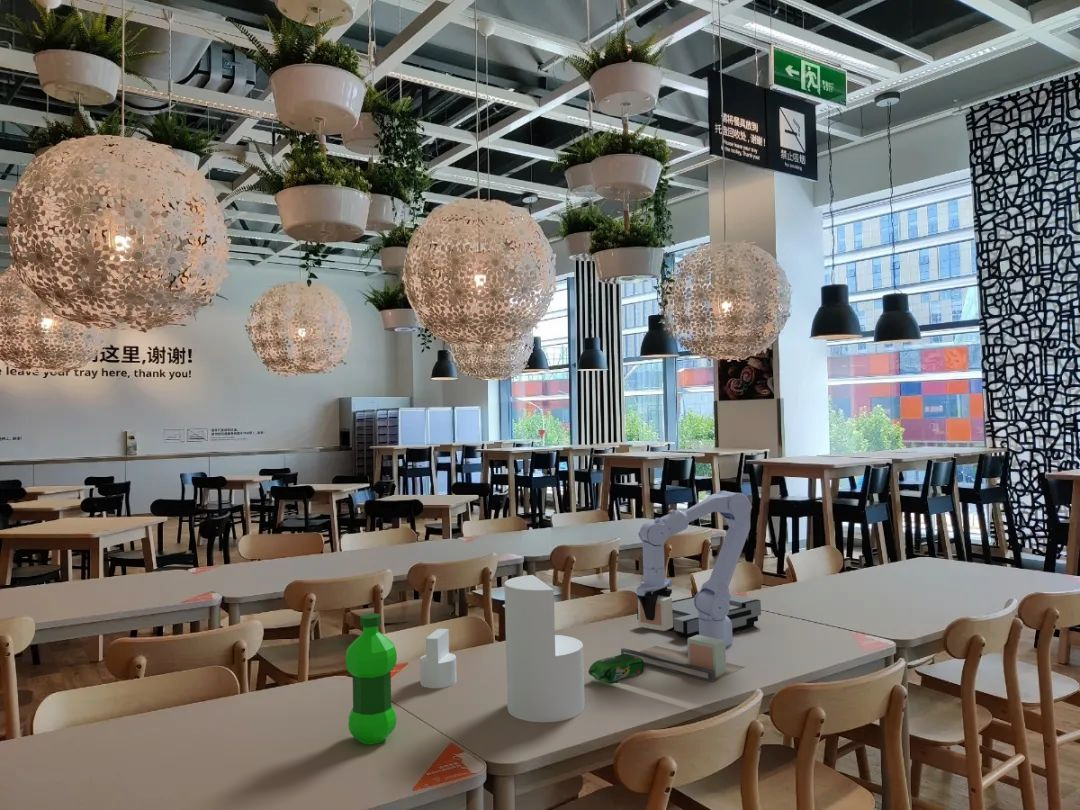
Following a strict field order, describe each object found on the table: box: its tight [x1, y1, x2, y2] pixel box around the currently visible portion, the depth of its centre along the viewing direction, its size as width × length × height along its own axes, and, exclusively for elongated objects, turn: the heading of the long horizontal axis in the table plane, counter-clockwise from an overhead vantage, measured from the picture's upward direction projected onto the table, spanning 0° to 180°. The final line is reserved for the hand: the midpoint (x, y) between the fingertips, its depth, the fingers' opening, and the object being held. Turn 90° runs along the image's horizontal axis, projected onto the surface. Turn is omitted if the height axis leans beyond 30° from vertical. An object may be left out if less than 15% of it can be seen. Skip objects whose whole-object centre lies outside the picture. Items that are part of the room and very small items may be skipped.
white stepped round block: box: [504, 574, 585, 723], centre depth 171 cm, size 17×17×28 cm
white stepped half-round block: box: [419, 628, 458, 689], centre depth 189 cm, size 9×9×12 cm
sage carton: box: [686, 635, 727, 678], centre depth 189 cm, size 5×8×8 cm, turn 44°
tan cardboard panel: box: [620, 645, 745, 683], centre depth 197 cm, size 15×28×4 cm, turn 44°
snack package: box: [588, 653, 646, 684], centre depth 188 cm, size 7×16×5 cm, turn 125°
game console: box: [636, 591, 762, 638], centre depth 232 cm, size 21×32×8 cm, turn 125°
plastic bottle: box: [345, 613, 398, 745], centre depth 156 cm, size 10×10×25 cm
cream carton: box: [637, 596, 673, 632], centre depth 206 cm, size 5×8×8 cm, turn 50°
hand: (655, 617), depth 206 cm, fingers closed on cream carton, 5 cm apart
